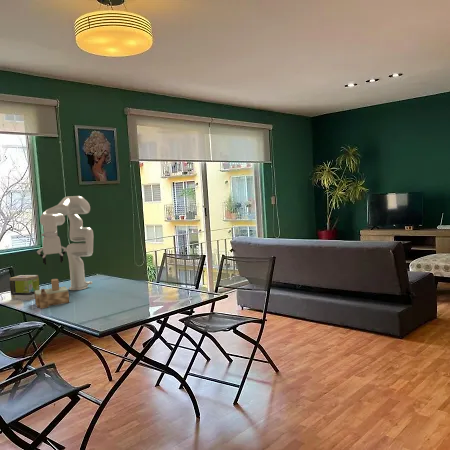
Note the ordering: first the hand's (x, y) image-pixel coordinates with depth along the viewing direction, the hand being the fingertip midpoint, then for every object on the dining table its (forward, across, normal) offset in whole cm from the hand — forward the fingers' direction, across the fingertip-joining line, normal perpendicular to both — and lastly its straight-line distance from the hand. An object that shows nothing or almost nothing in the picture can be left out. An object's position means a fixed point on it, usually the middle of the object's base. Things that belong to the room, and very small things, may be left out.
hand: (53, 263), depth 271 cm
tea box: (+24, -16, +25) cm, 38 cm away
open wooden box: (+24, -3, -2) cm, 24 cm away
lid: (+19, -3, 0) cm, 19 cm away
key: (+16, -8, -13) cm, 22 cm away
